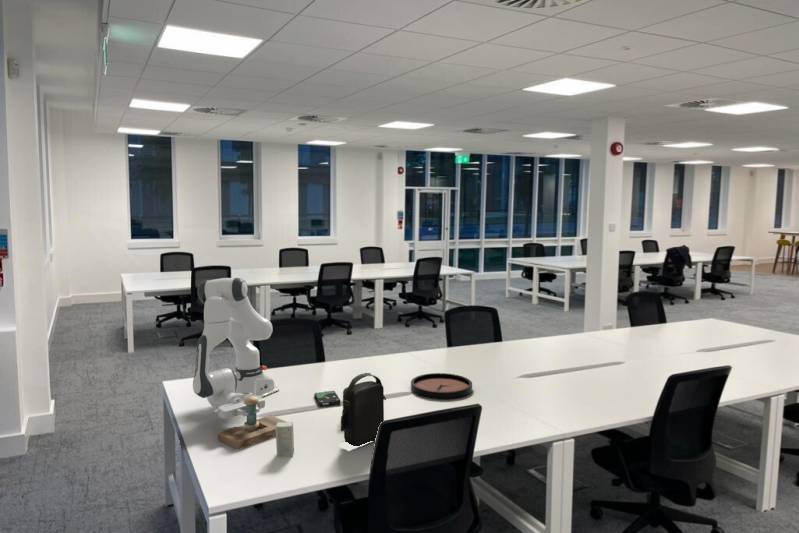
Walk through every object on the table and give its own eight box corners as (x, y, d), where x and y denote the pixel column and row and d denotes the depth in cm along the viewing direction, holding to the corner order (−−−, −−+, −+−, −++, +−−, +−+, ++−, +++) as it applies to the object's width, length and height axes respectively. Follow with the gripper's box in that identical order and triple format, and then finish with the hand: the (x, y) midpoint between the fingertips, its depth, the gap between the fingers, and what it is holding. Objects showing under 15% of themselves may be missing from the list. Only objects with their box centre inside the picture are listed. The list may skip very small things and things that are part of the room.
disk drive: (341, 406, 278) (334, 395, 292) (341, 400, 278) (334, 390, 292) (319, 408, 275) (313, 397, 289) (319, 402, 275) (313, 392, 289)
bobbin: (253, 422, 248) (253, 395, 246) (262, 426, 244) (261, 398, 242) (241, 426, 243) (240, 398, 242) (249, 430, 239) (249, 402, 238)
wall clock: (441, 369, 323) (485, 383, 299) (441, 376, 323) (484, 391, 300) (398, 381, 302) (441, 396, 279) (398, 388, 303) (441, 405, 279)
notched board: (270, 421, 257) (270, 415, 257) (290, 430, 248) (290, 423, 247) (217, 439, 238) (217, 432, 237) (237, 449, 228) (237, 442, 228)
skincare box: (294, 451, 227) (293, 421, 226) (292, 456, 223) (292, 426, 221) (278, 451, 227) (277, 421, 225) (276, 457, 222) (275, 426, 221)
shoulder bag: (348, 452, 227) (348, 382, 223) (333, 445, 233) (333, 377, 230) (390, 436, 242) (391, 370, 239) (376, 429, 249) (376, 365, 245)
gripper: (211, 403, 243) (230, 411, 234) (253, 391, 258) (272, 398, 249) (212, 417, 244) (230, 426, 235) (253, 405, 259) (272, 413, 250)
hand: (252, 412), depth 242 cm, fingers closed on bobbin, 4 cm apart
